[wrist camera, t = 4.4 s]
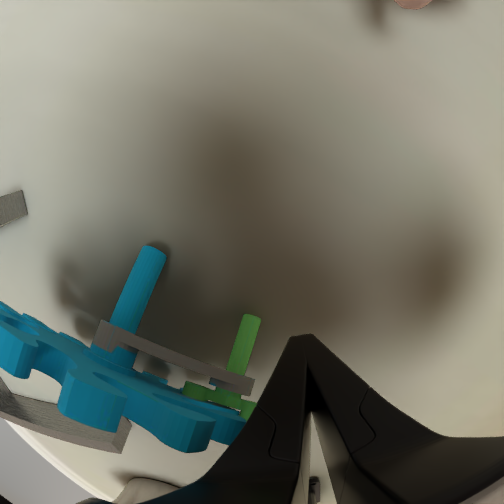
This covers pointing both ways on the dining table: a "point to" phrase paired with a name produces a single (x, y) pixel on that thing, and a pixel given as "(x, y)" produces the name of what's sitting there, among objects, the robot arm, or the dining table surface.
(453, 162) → the dining table surface
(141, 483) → the cupcake
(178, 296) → the dining table surface
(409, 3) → the mug
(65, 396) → the gear
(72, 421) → the grey u-shaped frame
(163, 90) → the dining table surface
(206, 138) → the dining table surface
